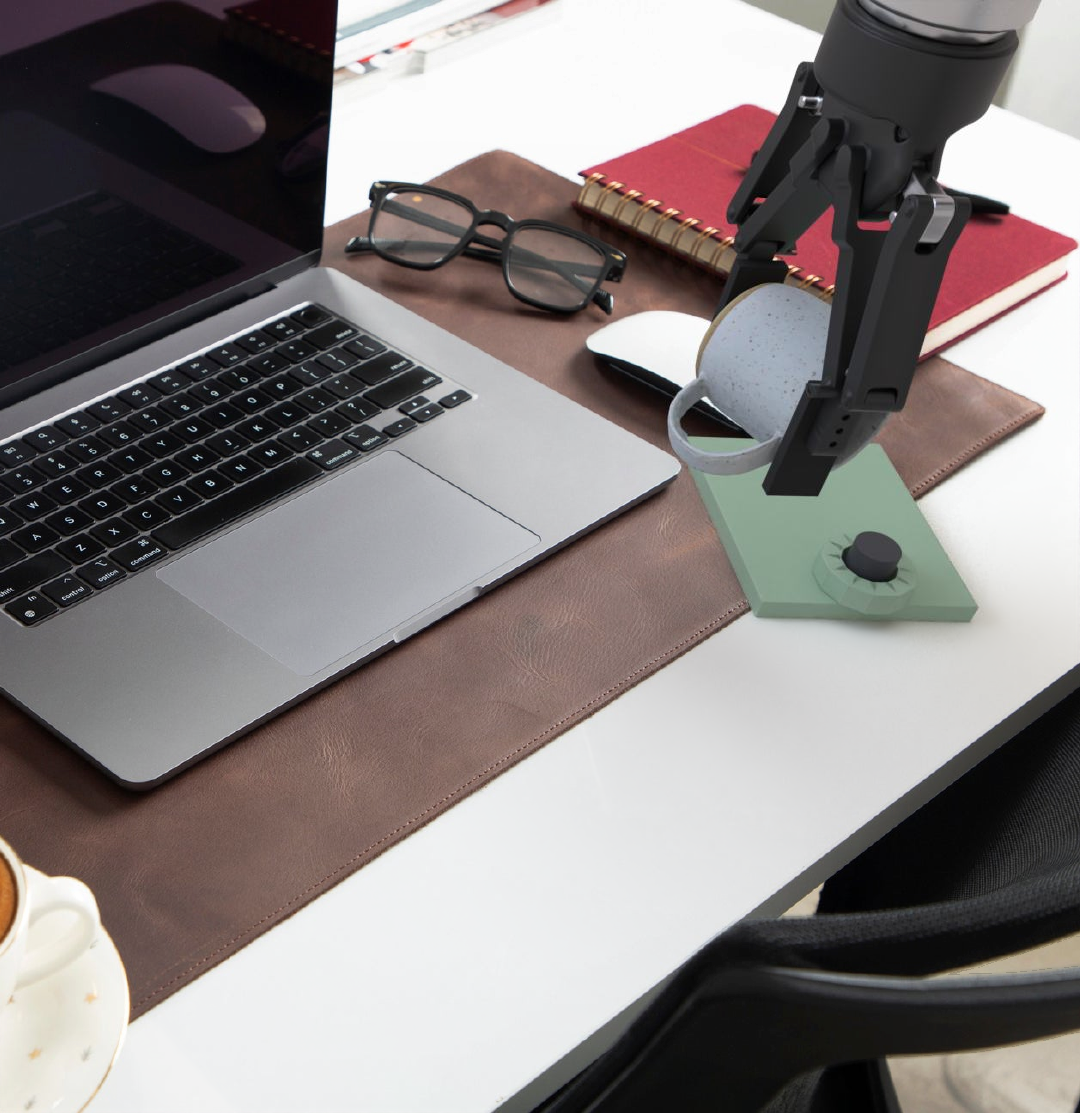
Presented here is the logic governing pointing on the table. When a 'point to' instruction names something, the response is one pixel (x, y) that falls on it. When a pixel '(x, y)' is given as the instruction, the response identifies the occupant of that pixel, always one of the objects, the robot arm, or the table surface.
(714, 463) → the ceramic mug
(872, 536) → the button
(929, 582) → the scale
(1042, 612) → the table surface
